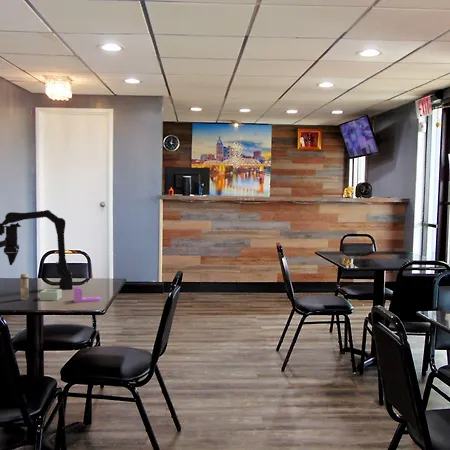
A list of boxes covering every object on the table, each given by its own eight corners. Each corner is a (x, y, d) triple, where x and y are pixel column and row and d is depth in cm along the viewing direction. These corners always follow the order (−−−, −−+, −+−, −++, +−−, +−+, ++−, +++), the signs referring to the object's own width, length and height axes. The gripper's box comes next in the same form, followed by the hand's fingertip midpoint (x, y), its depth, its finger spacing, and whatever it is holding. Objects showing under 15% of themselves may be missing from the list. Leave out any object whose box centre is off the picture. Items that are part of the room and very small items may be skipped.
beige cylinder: (28, 298, 255) (28, 273, 254) (28, 299, 251) (28, 274, 251) (20, 298, 254) (20, 274, 253) (20, 300, 250) (20, 275, 250)
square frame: (45, 296, 259) (45, 289, 259) (61, 297, 260) (61, 289, 259) (39, 300, 251) (39, 292, 251) (57, 300, 251) (57, 292, 251)
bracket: (74, 302, 246) (74, 288, 246) (73, 300, 252) (73, 286, 251) (101, 301, 250) (101, 287, 250) (100, 299, 256) (100, 285, 255)
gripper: (-3, 234, 281) (-3, 262, 281) (-7, 236, 263) (-7, 266, 264) (19, 234, 284) (19, 261, 285) (16, 236, 266) (16, 266, 267)
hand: (11, 264), depth 275 cm, fingers open, 9 cm apart
